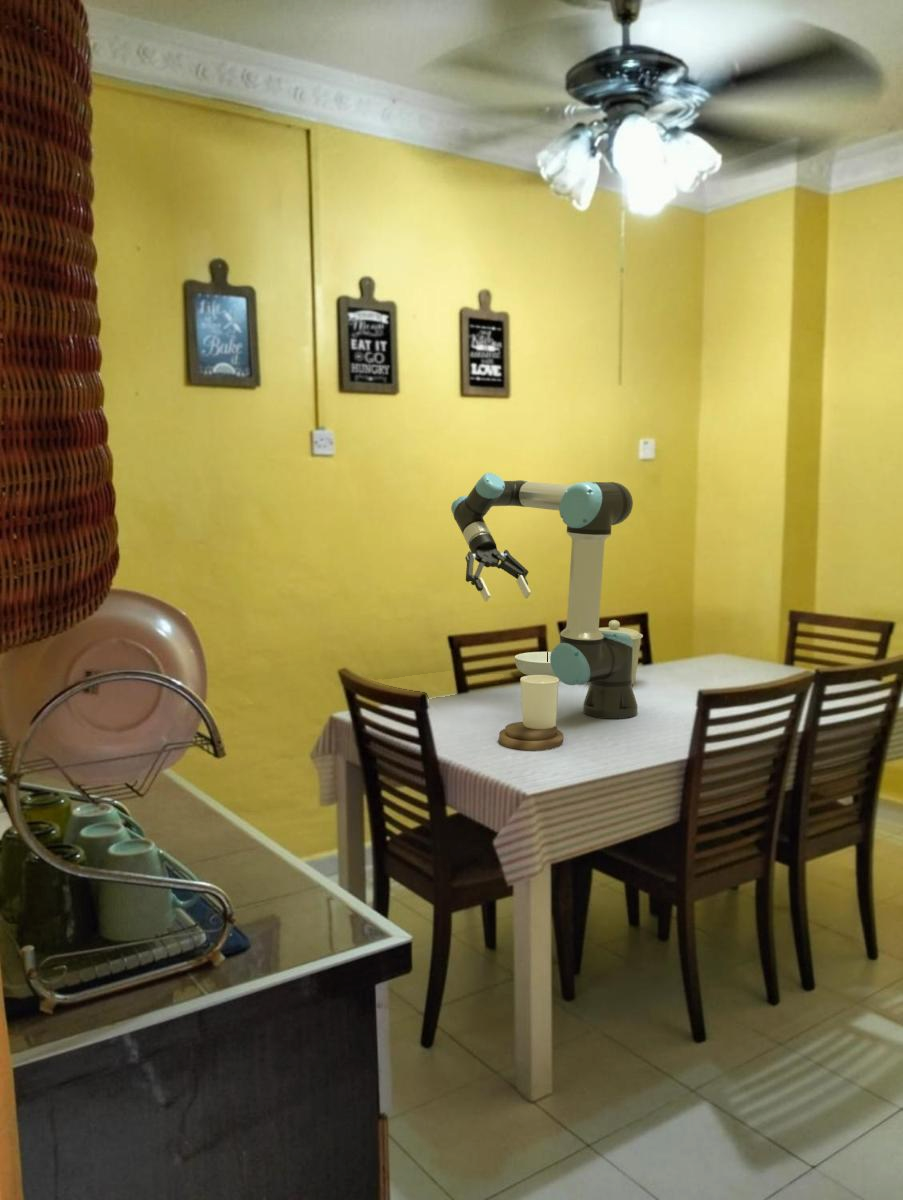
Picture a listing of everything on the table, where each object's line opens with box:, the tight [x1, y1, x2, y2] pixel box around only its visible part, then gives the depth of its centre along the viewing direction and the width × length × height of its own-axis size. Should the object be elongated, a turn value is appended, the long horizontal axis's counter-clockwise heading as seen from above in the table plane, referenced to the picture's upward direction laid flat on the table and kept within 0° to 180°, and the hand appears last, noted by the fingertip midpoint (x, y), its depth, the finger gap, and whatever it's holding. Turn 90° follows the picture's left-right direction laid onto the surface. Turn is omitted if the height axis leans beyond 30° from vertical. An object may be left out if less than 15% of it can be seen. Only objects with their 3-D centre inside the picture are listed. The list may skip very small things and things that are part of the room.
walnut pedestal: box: [498, 721, 564, 752], centre depth 232 cm, size 16×16×4 cm
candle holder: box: [519, 675, 560, 729], centre depth 233 cm, size 10×10×12 cm
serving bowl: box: [514, 651, 557, 677], centre depth 310 cm, size 21×21×7 cm
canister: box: [599, 619, 644, 685], centre depth 295 cm, size 18×18×21 cm
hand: (508, 597), depth 260 cm, fingers open, 13 cm apart
